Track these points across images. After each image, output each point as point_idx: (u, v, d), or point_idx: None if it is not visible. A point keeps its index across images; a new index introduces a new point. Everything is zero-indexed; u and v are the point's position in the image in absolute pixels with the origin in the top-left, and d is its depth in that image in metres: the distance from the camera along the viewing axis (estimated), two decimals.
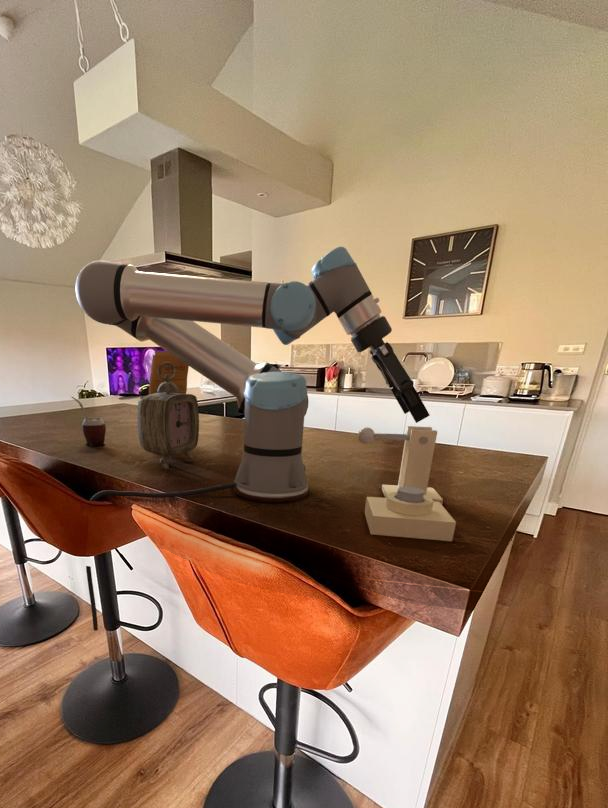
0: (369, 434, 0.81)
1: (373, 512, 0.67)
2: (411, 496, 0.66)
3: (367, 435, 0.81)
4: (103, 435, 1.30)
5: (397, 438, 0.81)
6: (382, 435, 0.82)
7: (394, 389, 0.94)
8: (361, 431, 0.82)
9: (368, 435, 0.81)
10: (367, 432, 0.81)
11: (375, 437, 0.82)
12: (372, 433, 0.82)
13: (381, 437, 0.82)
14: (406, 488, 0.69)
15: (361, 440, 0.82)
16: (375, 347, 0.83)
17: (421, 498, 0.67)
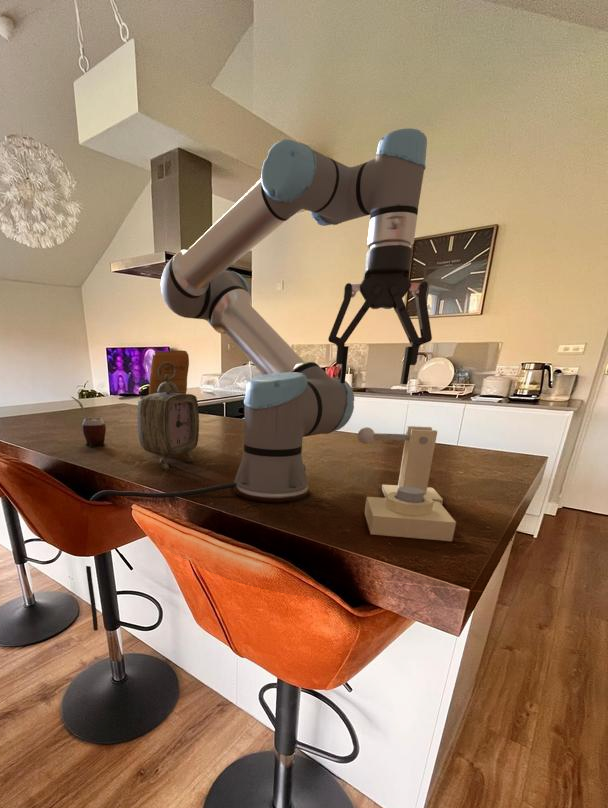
0: (369, 434, 0.81)
1: (373, 512, 0.67)
2: (411, 496, 0.66)
3: (367, 435, 0.81)
4: (103, 435, 1.30)
5: (397, 438, 0.81)
6: (382, 435, 0.82)
7: (405, 349, 0.77)
8: (361, 431, 0.82)
9: (368, 435, 0.81)
10: (367, 432, 0.81)
11: (375, 437, 0.82)
12: (372, 433, 0.82)
13: (381, 437, 0.82)
14: (406, 488, 0.69)
15: (361, 440, 0.82)
16: None
17: (421, 498, 0.67)
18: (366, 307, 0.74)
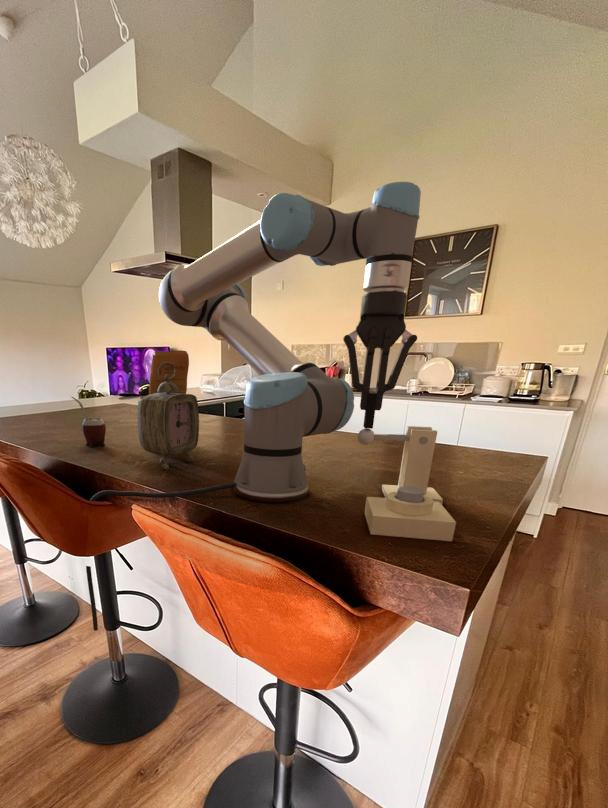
0: (369, 436, 0.81)
1: (373, 512, 0.67)
2: (411, 496, 0.66)
3: (367, 436, 0.81)
4: (103, 435, 1.30)
5: (397, 438, 0.81)
6: (382, 436, 0.82)
7: None
8: (361, 432, 0.82)
9: (368, 436, 0.81)
10: (367, 433, 0.81)
11: (375, 438, 0.82)
12: (372, 434, 0.82)
13: (381, 438, 0.82)
14: (406, 488, 0.69)
15: (361, 441, 0.82)
16: None
17: (421, 498, 0.67)
18: (372, 350, 0.76)
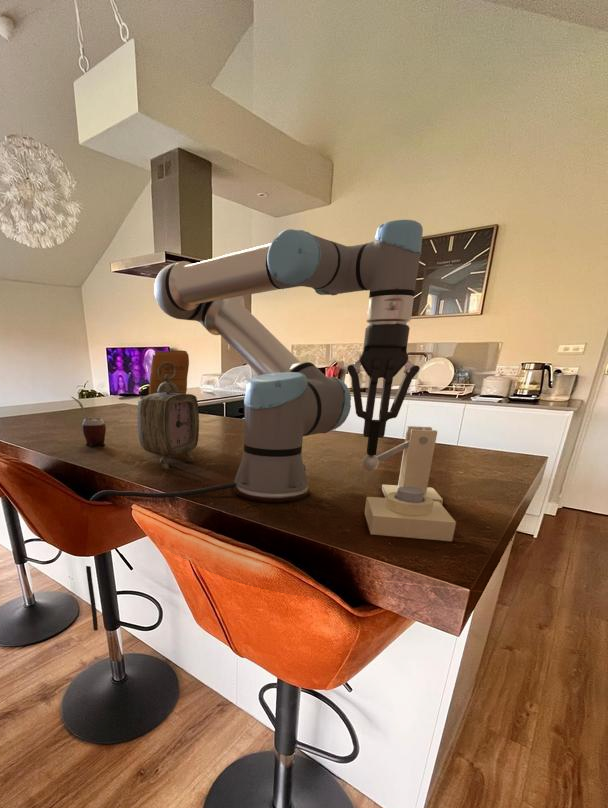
0: (372, 461, 0.83)
1: (373, 512, 0.67)
2: (411, 496, 0.66)
3: (371, 463, 0.83)
4: (103, 435, 1.30)
5: (399, 450, 0.82)
6: (384, 455, 0.83)
7: None
8: (364, 462, 0.84)
9: (372, 462, 0.83)
10: (369, 460, 0.83)
11: (379, 459, 0.83)
12: (374, 458, 0.83)
13: (385, 457, 0.83)
14: (406, 488, 0.69)
15: (369, 469, 0.84)
16: None
17: (421, 498, 0.67)
18: (375, 380, 0.78)
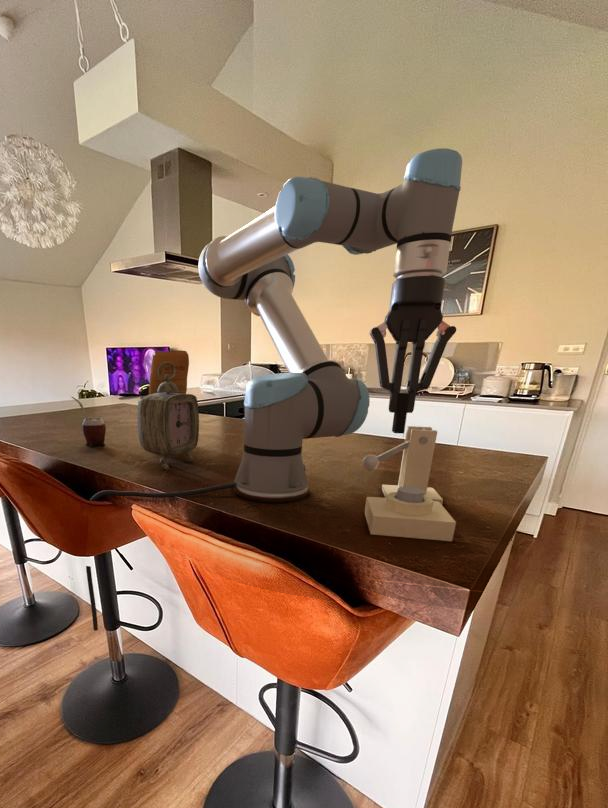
0: (372, 461, 0.83)
1: (373, 512, 0.67)
2: (411, 496, 0.66)
3: (371, 463, 0.83)
4: (103, 435, 1.30)
5: (399, 450, 0.82)
6: (384, 455, 0.83)
7: None
8: (364, 462, 0.84)
9: (372, 462, 0.83)
10: (369, 460, 0.83)
11: (379, 460, 0.83)
12: (374, 458, 0.83)
13: (385, 457, 0.83)
14: (406, 488, 0.69)
15: (369, 469, 0.84)
16: None
17: (421, 498, 0.67)
18: (404, 345, 0.67)
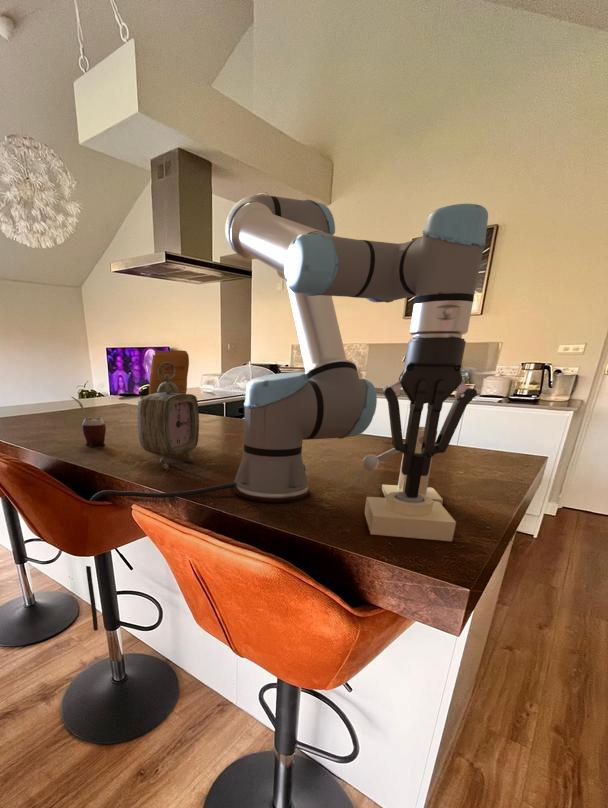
0: (372, 461, 0.83)
1: (373, 512, 0.67)
2: None
3: (371, 463, 0.83)
4: (103, 435, 1.30)
5: None
6: (384, 455, 0.83)
7: None
8: (364, 462, 0.84)
9: (372, 462, 0.83)
10: (369, 460, 0.83)
11: (379, 460, 0.83)
12: (374, 458, 0.83)
13: (385, 457, 0.83)
14: (405, 494, 0.69)
15: (369, 469, 0.84)
16: None
17: None
18: (419, 407, 0.62)
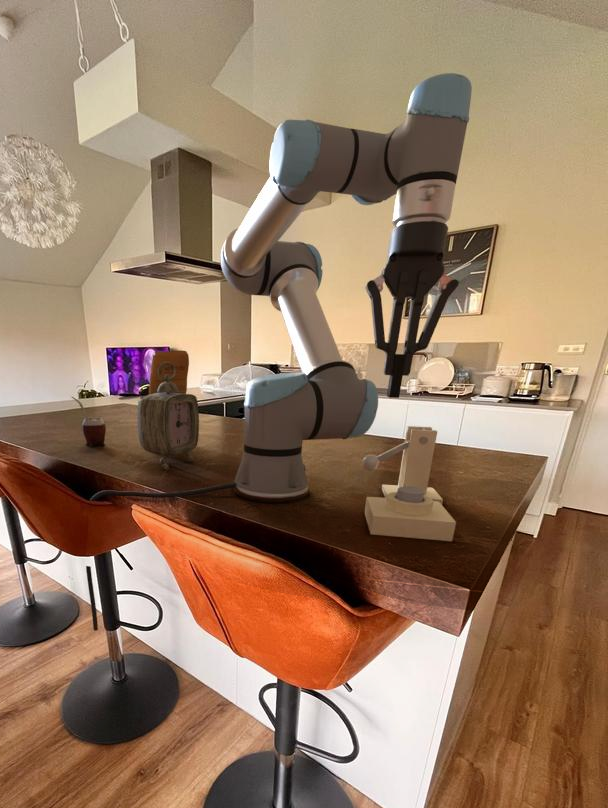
0: (372, 461, 0.83)
1: (373, 512, 0.67)
2: (411, 496, 0.66)
3: (371, 463, 0.83)
4: (103, 435, 1.30)
5: (399, 450, 0.82)
6: (384, 455, 0.83)
7: None
8: (364, 462, 0.84)
9: (372, 462, 0.83)
10: (369, 460, 0.83)
11: (379, 460, 0.83)
12: (374, 458, 0.83)
13: (385, 457, 0.83)
14: (406, 488, 0.69)
15: (369, 469, 0.84)
16: None
17: (421, 498, 0.67)
18: (401, 300, 0.62)
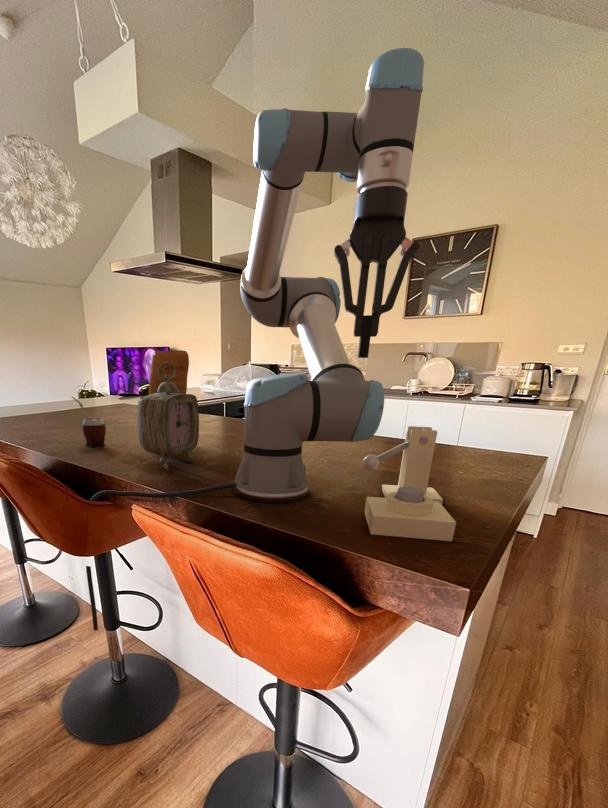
0: (372, 461, 0.83)
1: (373, 512, 0.67)
2: (411, 496, 0.66)
3: (371, 463, 0.83)
4: (103, 435, 1.30)
5: (399, 450, 0.82)
6: (384, 455, 0.83)
7: None
8: (364, 462, 0.84)
9: (372, 462, 0.83)
10: (369, 460, 0.83)
11: (379, 460, 0.83)
12: (374, 458, 0.83)
13: (385, 457, 0.83)
14: (406, 488, 0.69)
15: (369, 469, 0.84)
16: None
17: (421, 498, 0.67)
18: (367, 263, 0.66)
